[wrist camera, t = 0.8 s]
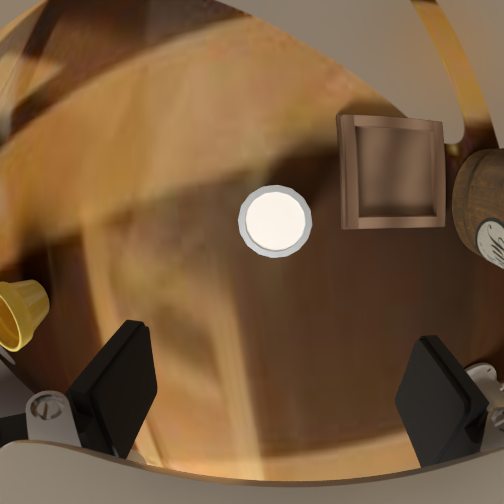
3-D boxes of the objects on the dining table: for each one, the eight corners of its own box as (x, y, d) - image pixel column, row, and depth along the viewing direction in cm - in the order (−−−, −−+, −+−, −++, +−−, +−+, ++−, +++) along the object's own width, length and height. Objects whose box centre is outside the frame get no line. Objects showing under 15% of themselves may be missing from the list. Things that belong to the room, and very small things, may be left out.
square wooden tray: (434, 122, 30) (443, 119, 28) (437, 225, 33) (446, 229, 31) (335, 116, 31) (340, 111, 29) (341, 227, 35) (345, 231, 32)
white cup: (247, 181, 34) (239, 182, 28) (308, 185, 34) (315, 187, 27) (244, 240, 36) (236, 255, 29) (303, 244, 36) (308, 260, 29)
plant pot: (19, 311, 43) (-15, 334, 34) (17, 260, 40) (-23, 278, 31) (58, 334, 43) (25, 363, 34) (58, 281, 40) (17, 304, 31)
